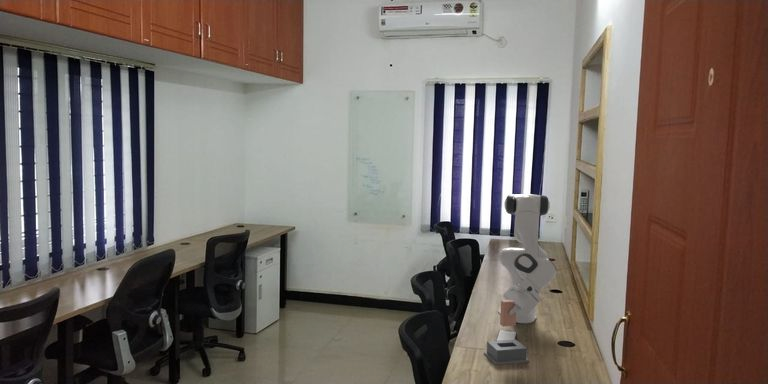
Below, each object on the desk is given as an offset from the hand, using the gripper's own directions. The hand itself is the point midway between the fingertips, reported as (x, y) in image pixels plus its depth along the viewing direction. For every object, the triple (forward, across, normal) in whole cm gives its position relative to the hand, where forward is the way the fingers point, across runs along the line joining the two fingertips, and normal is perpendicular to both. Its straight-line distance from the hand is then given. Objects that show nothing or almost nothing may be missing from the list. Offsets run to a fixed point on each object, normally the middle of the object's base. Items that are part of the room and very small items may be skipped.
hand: (507, 312), depth 235 cm
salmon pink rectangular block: (+4, 0, +5) cm, 6 cm away
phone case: (+7, -22, +23) cm, 33 cm away
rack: (+14, 0, +15) cm, 21 cm away
